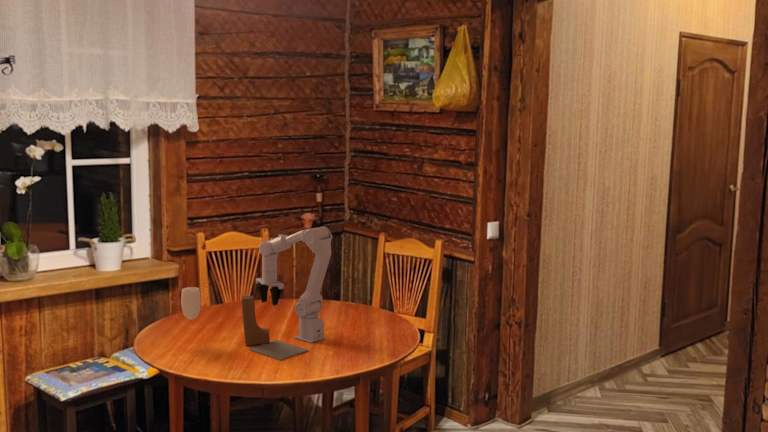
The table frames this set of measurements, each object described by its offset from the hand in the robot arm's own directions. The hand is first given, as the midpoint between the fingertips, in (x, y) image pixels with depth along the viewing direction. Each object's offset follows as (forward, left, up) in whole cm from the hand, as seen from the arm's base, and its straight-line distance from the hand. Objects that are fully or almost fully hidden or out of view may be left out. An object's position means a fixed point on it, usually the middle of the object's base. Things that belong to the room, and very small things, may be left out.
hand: (269, 303), depth 305 cm
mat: (-23, +16, -10) cm, 30 cm away
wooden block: (-11, +16, -10) cm, 22 cm away
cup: (+8, +32, -11) cm, 35 cm away
